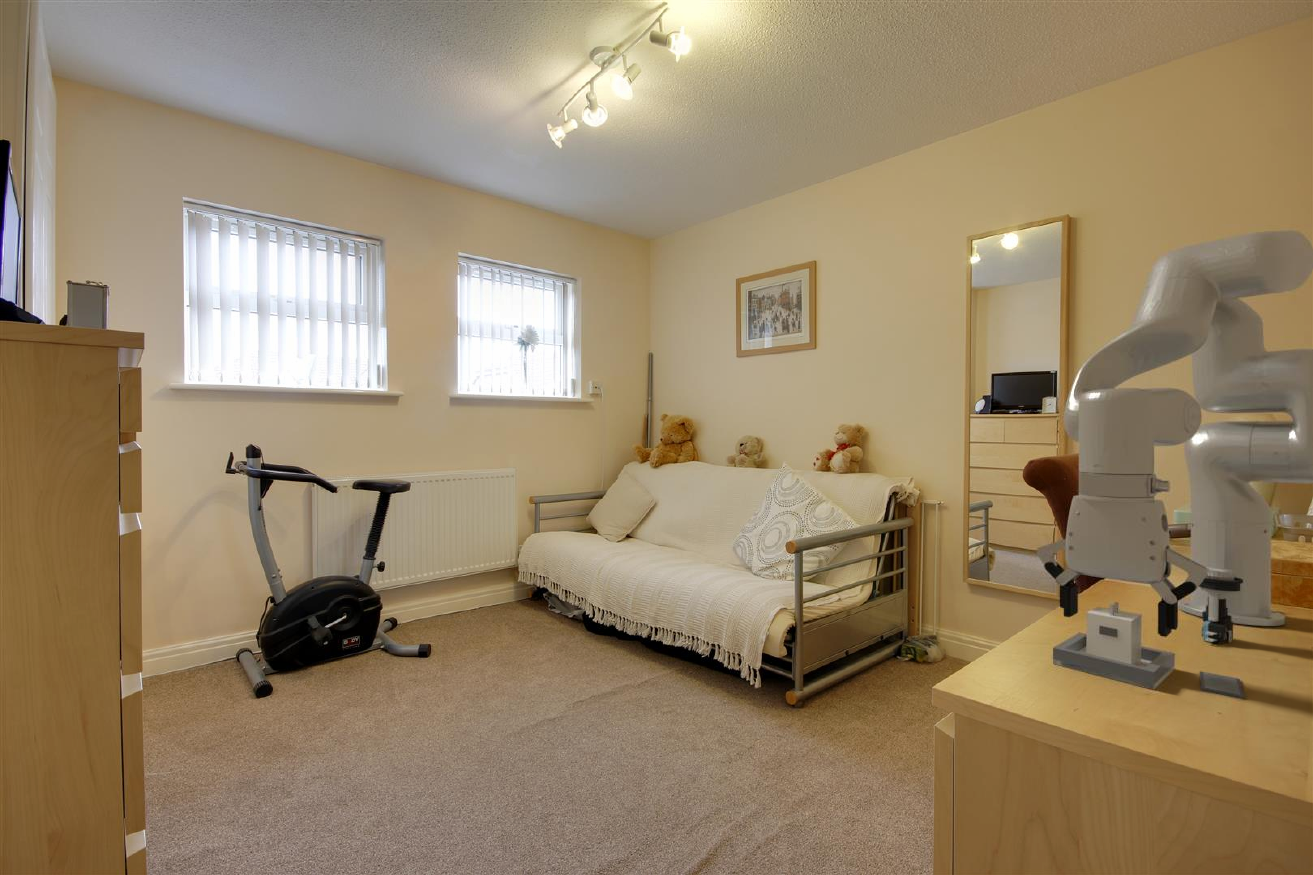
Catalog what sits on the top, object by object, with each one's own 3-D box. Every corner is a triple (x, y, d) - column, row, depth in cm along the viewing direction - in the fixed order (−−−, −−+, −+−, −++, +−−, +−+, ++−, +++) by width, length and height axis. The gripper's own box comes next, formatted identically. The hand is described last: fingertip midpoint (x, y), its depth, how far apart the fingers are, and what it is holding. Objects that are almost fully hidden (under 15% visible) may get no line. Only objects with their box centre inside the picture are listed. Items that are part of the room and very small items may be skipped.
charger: (1097, 652, 78) (1098, 597, 78) (1141, 662, 75) (1141, 604, 75) (1086, 660, 75) (1086, 602, 75) (1130, 671, 72) (1131, 611, 72)
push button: (1233, 650, 81) (1233, 576, 81) (1182, 639, 86) (1183, 569, 86) (1247, 642, 85) (1248, 571, 85) (1198, 631, 90) (1198, 564, 90)
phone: (1199, 677, 73) (1199, 670, 73) (1239, 685, 71) (1239, 678, 71) (1201, 695, 68) (1201, 687, 68) (1244, 704, 66) (1244, 696, 66)
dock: (1079, 646, 82) (1079, 632, 82) (1174, 669, 74) (1174, 653, 74) (1052, 663, 76) (1053, 647, 76) (1153, 689, 68) (1153, 672, 68)
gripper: (1214, 490, 71) (1214, 635, 71) (1047, 481, 84) (1048, 603, 84) (1201, 495, 66) (1201, 650, 66) (1027, 485, 80) (1027, 614, 80)
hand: (1115, 623), depth 75 cm, fingers open, 9 cm apart
